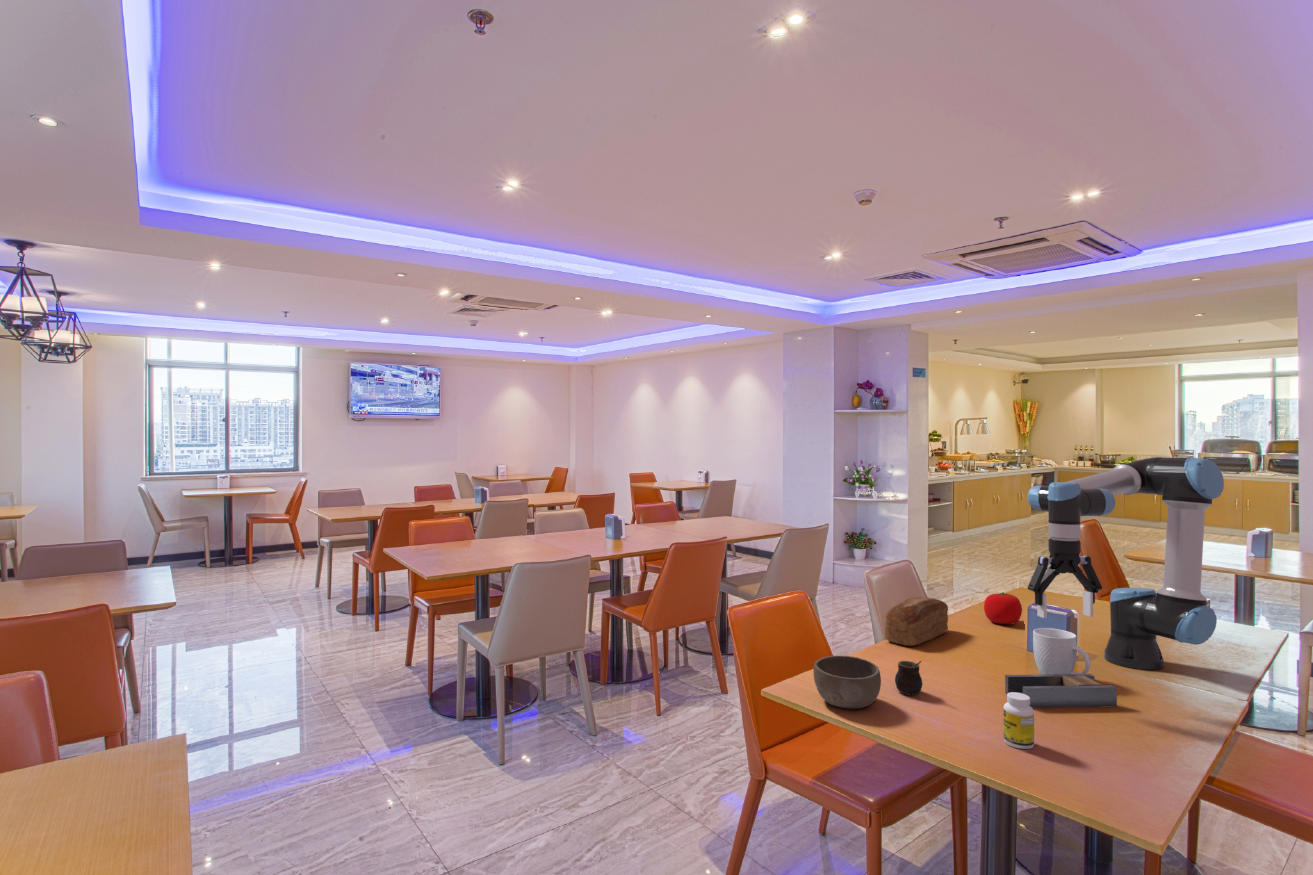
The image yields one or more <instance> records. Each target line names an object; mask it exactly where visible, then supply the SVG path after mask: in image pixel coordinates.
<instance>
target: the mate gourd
mask: <svg viewBox="0 0 1313 875" xmlns="http://www.w3.org/2000/svg"><path fill="white" fill-rule="evenodd" d="M922 662H923V661H922V660H920V661H919V662H918V663H916V662H915V661H909V660H900V661H898V663H897V667H898V668H897V672H896V674H895V677H894V683H895V686H896V689H897V691H899V692H900V693H901V694H903V695H906V696H916V695H918V694H919V693H920V692H922V691H921V690H922V687H923V679H922V676H921V673H920V664H921V663H922Z"/></svg>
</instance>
